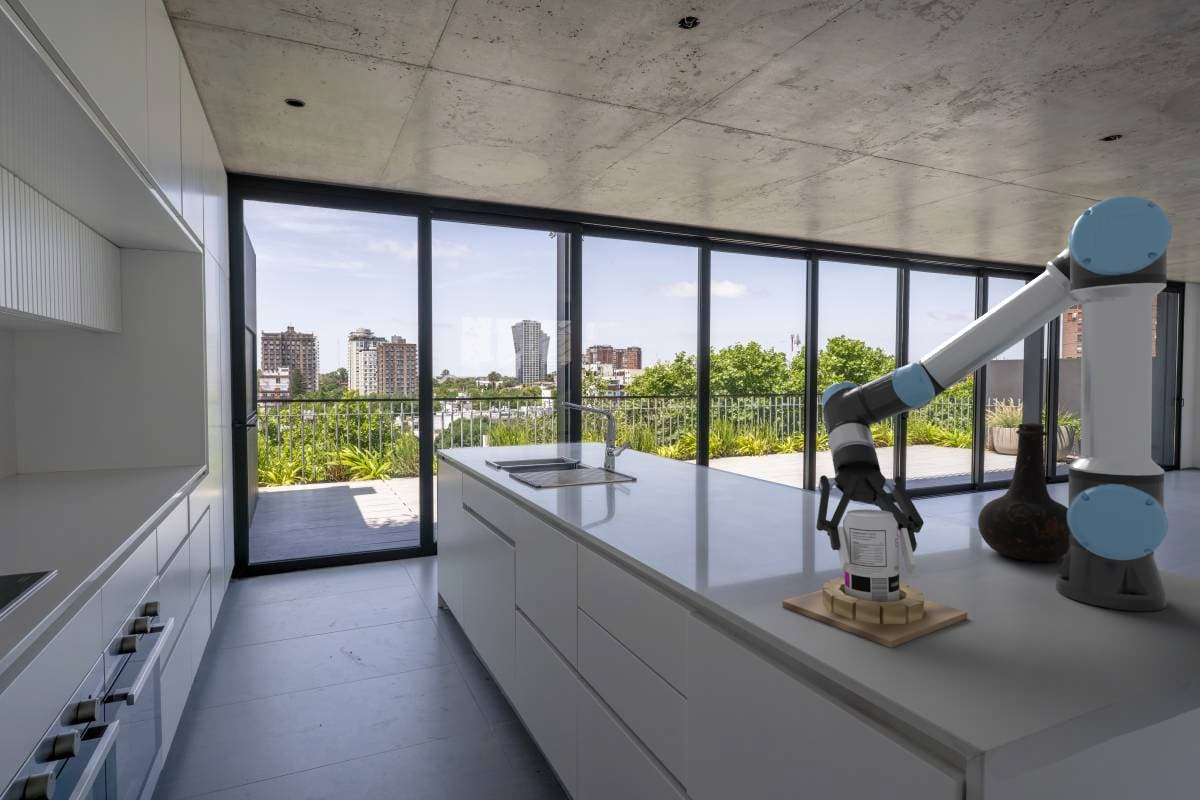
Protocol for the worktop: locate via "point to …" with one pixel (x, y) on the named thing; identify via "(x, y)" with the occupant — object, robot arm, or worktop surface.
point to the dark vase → (1027, 508)
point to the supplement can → (872, 555)
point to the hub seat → (876, 613)
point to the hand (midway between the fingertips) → (878, 567)
